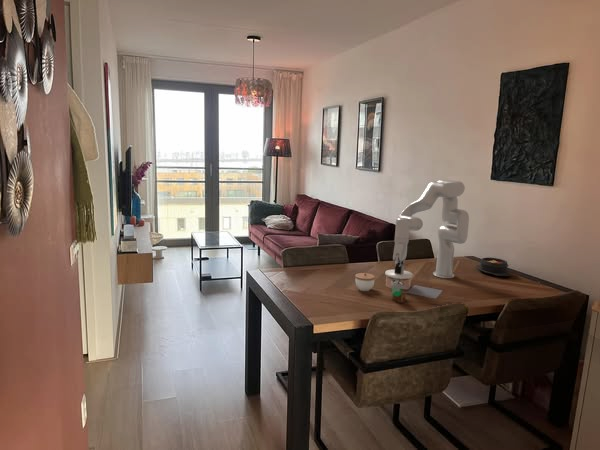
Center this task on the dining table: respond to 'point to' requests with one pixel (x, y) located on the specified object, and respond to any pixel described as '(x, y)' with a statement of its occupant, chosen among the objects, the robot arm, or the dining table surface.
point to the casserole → (494, 266)
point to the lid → (396, 275)
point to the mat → (424, 291)
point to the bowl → (405, 281)
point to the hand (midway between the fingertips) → (399, 271)
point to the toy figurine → (398, 291)
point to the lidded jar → (364, 281)
